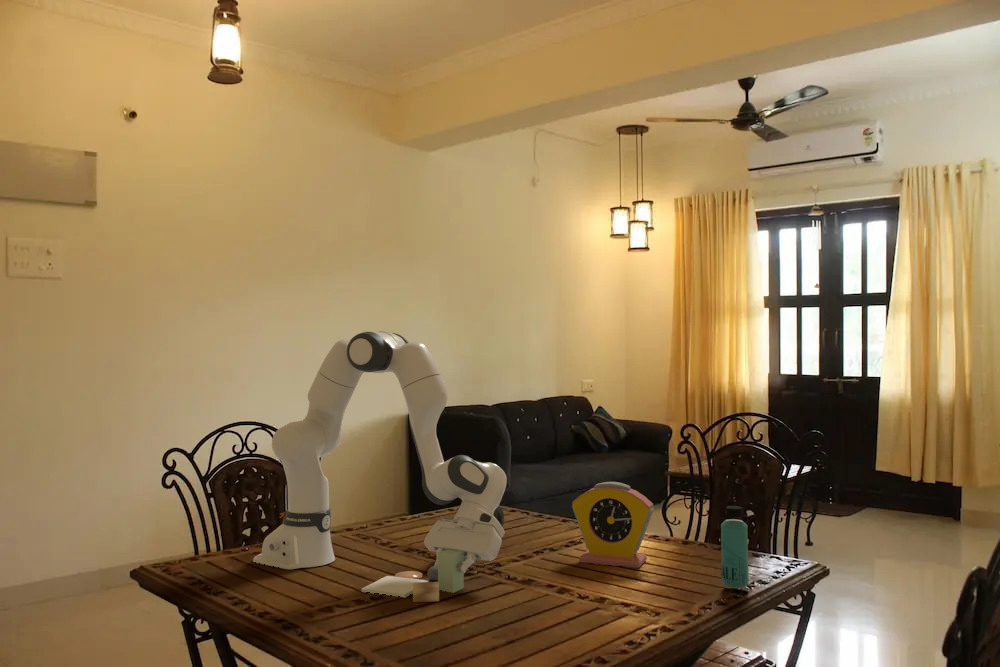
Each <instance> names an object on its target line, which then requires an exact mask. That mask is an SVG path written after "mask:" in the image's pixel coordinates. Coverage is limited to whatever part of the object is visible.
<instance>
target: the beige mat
mask: <svg viewBox="0 0 1000 667" xmlns="http://www.w3.org/2000/svg"><path fill="white" fill-rule="evenodd" d="M414 582H430V579H429V580H428V579H421V578H420V579H411V578H403V577H395V575H386V576H384V577H382V578H379V579H377V580H376V581H374V582H372V583H370V584H367V585H366V586H364V587H362V588H361V592H362V593H366V592H370V593H369V594H374V593H379V594H378V595H382V594H386V595H385V596H390V595H392V596H391V597H398V596H400V597H399V598H407V597H409V596H411V595H413V583H414ZM410 594H411V595H410Z"/></svg>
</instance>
